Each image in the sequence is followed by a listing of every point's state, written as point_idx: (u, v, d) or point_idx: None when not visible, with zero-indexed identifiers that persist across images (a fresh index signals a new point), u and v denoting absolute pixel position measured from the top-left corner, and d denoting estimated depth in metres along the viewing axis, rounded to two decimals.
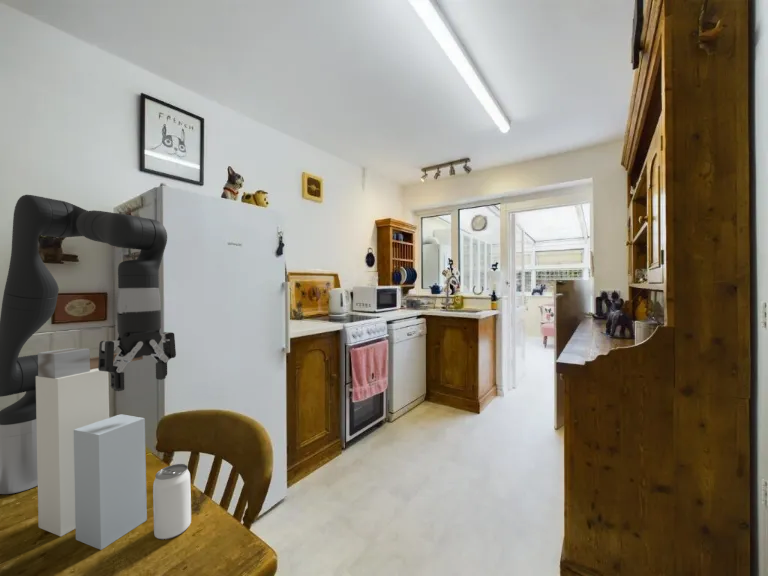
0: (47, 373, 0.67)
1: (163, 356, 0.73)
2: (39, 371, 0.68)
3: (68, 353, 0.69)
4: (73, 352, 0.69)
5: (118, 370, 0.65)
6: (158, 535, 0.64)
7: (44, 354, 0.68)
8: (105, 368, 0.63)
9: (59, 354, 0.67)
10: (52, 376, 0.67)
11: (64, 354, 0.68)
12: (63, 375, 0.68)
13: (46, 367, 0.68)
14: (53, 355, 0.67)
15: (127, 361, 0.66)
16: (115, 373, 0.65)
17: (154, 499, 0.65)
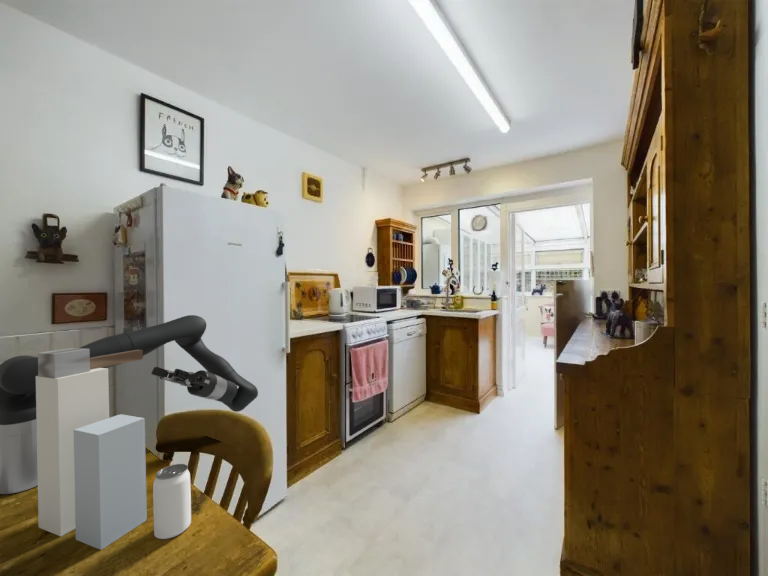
0: (47, 373, 0.67)
1: (167, 379, 0.96)
2: (39, 371, 0.68)
3: (68, 353, 0.69)
4: (73, 352, 0.69)
5: (187, 381, 0.92)
6: (158, 535, 0.64)
7: (44, 354, 0.68)
8: (195, 381, 0.92)
9: (59, 354, 0.67)
10: (52, 376, 0.67)
11: (64, 354, 0.68)
12: (63, 375, 0.68)
13: (46, 367, 0.68)
14: (53, 355, 0.67)
15: (187, 383, 0.93)
16: (187, 378, 0.92)
17: (154, 499, 0.65)
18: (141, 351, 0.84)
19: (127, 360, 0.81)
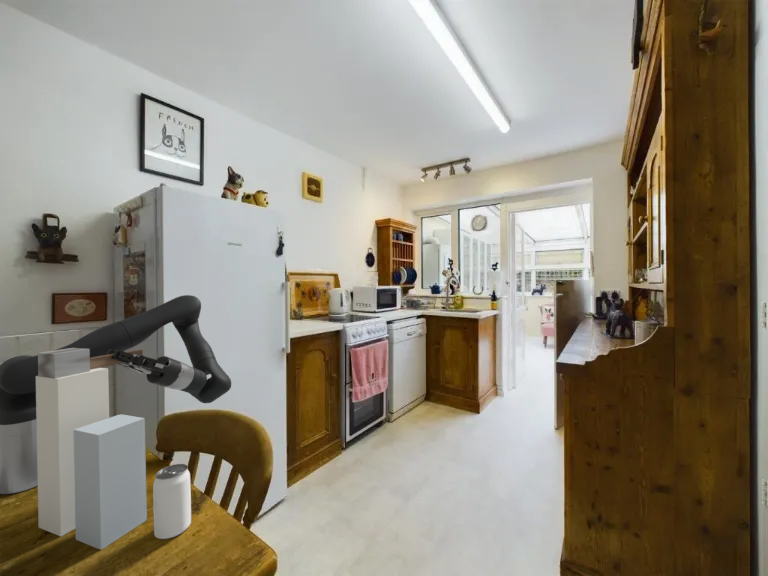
0: (47, 373, 0.67)
1: (126, 364, 0.83)
2: (39, 371, 0.68)
3: (68, 353, 0.69)
4: (73, 352, 0.69)
5: (130, 364, 0.81)
6: (158, 535, 0.64)
7: (44, 354, 0.68)
8: (139, 364, 0.81)
9: (59, 354, 0.67)
10: (52, 376, 0.67)
11: (64, 354, 0.68)
12: (63, 375, 0.68)
13: (46, 367, 0.68)
14: (53, 355, 0.67)
15: (135, 367, 0.83)
16: (130, 361, 0.81)
17: (154, 499, 0.65)
18: (141, 351, 0.84)
19: None
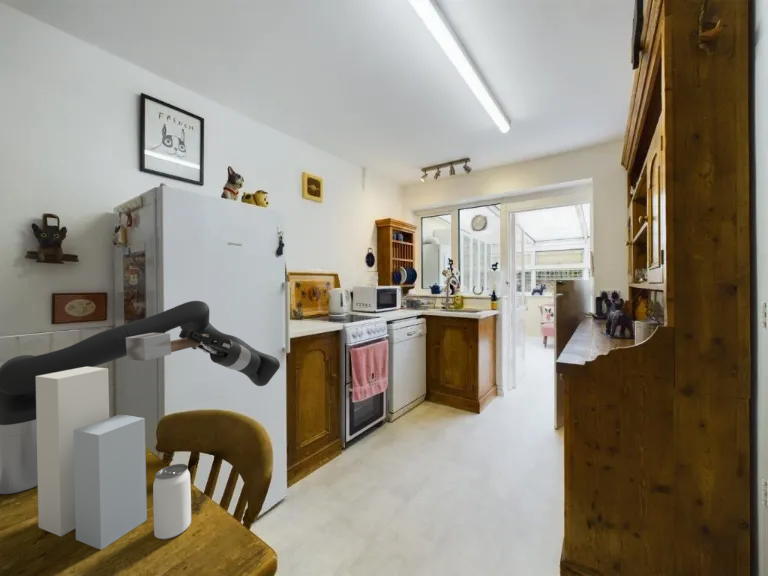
0: (137, 356, 0.73)
1: None
2: (128, 354, 0.74)
3: (154, 337, 0.74)
4: (157, 336, 0.74)
5: (201, 343, 0.86)
6: (158, 535, 0.64)
7: (132, 338, 0.73)
8: (209, 343, 0.86)
9: (147, 338, 0.72)
10: (142, 358, 0.72)
11: (151, 338, 0.73)
12: (151, 357, 0.73)
13: (135, 351, 0.73)
14: (142, 339, 0.72)
15: (204, 347, 0.88)
16: (201, 341, 0.86)
17: (154, 499, 0.65)
18: (208, 335, 0.89)
19: (198, 344, 0.86)
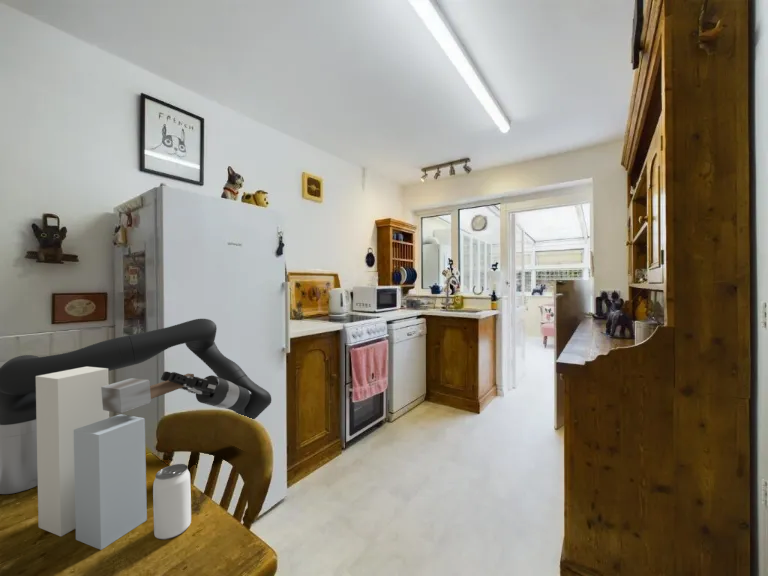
0: (113, 407, 0.68)
1: None
2: (104, 405, 0.69)
3: (131, 387, 0.69)
4: (135, 385, 0.70)
5: (185, 386, 0.82)
6: (158, 535, 0.64)
7: (108, 388, 0.68)
8: (193, 386, 0.81)
9: (124, 389, 0.68)
10: (118, 410, 0.67)
11: (128, 388, 0.68)
12: (128, 409, 0.68)
13: (111, 402, 0.68)
14: (118, 390, 0.67)
15: (189, 388, 0.83)
16: (184, 383, 0.81)
17: (154, 499, 0.65)
18: (193, 375, 0.85)
19: (181, 386, 0.82)
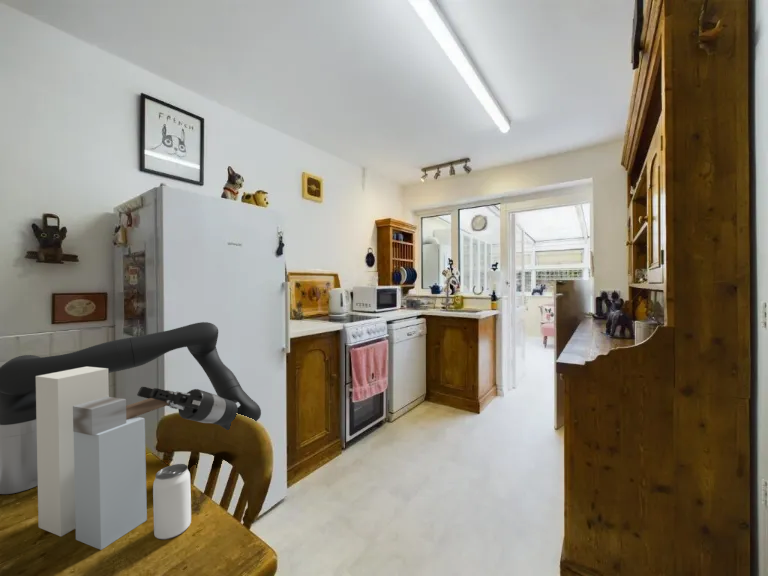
0: (83, 429, 0.63)
1: None
2: (74, 426, 0.64)
3: (105, 406, 0.64)
4: (110, 405, 0.65)
5: (168, 402, 0.77)
6: (158, 535, 0.64)
7: (80, 408, 0.64)
8: (177, 402, 0.76)
9: (96, 409, 0.63)
10: (89, 433, 0.63)
11: (101, 408, 0.64)
12: (100, 431, 0.64)
13: (82, 423, 0.63)
14: (90, 410, 0.62)
15: (171, 405, 0.78)
16: (167, 399, 0.76)
17: (154, 499, 0.65)
18: None
19: (161, 405, 0.77)
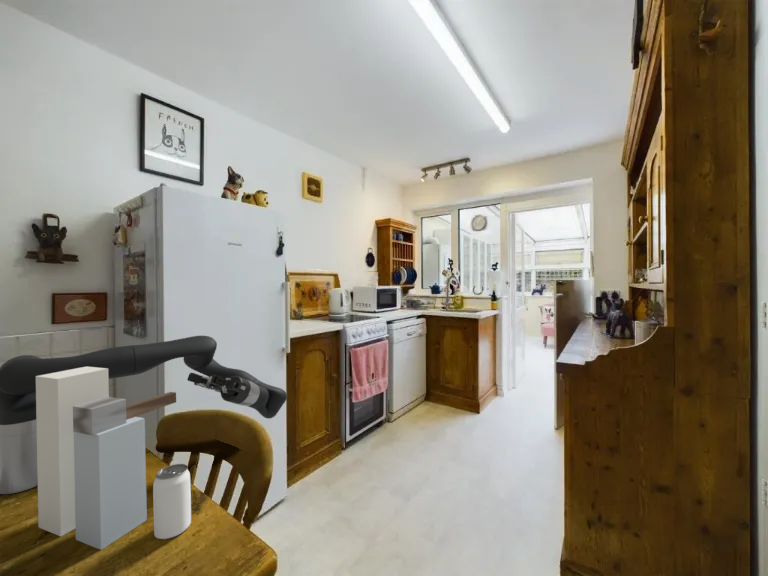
0: (83, 429, 0.63)
1: (202, 385, 0.93)
2: (74, 426, 0.64)
3: (105, 406, 0.64)
4: (110, 405, 0.65)
5: (224, 387, 0.89)
6: (158, 535, 0.64)
7: (80, 408, 0.64)
8: (233, 387, 0.89)
9: (96, 409, 0.63)
10: (89, 433, 0.63)
11: (101, 408, 0.64)
12: (100, 431, 0.64)
13: (82, 423, 0.63)
14: (90, 410, 0.62)
15: (223, 389, 0.91)
16: (224, 384, 0.89)
17: (154, 499, 0.65)
18: (175, 394, 0.80)
19: (161, 405, 0.77)
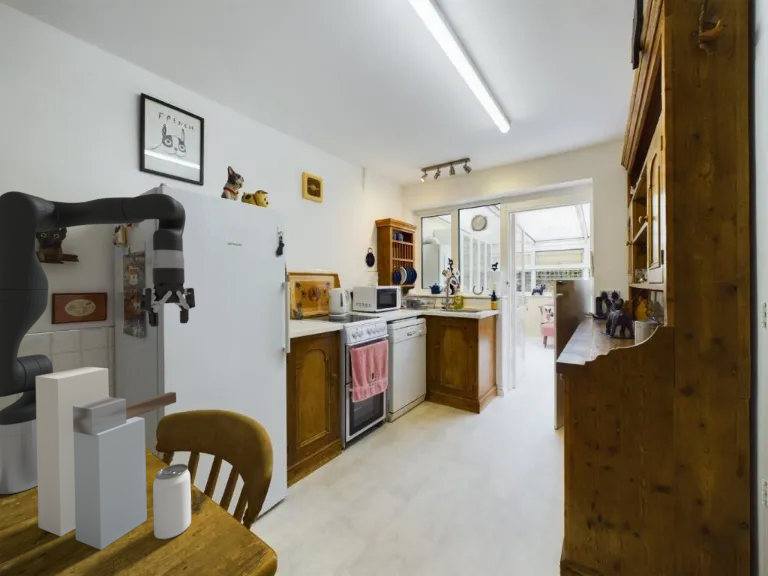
0: (83, 429, 0.63)
1: None
2: (74, 426, 0.64)
3: (105, 406, 0.64)
4: (110, 405, 0.65)
5: None
6: (158, 535, 0.64)
7: (80, 408, 0.64)
8: None
9: (96, 409, 0.63)
10: (89, 433, 0.63)
11: (101, 408, 0.64)
12: (100, 431, 0.64)
13: (82, 423, 0.63)
14: (90, 410, 0.62)
15: None
16: None
17: (154, 499, 0.65)
18: (175, 394, 0.80)
19: (161, 405, 0.77)
